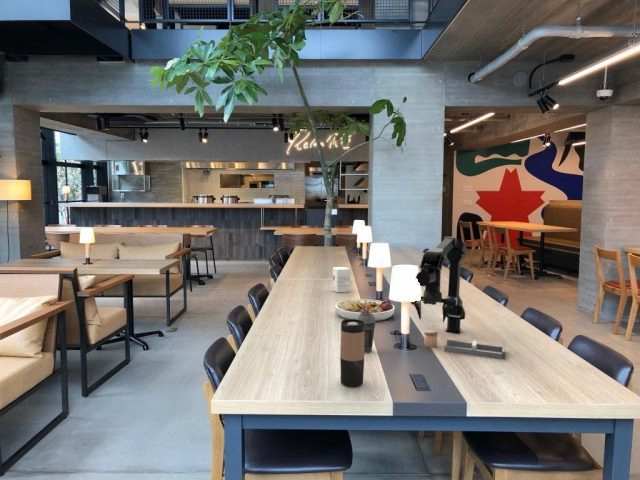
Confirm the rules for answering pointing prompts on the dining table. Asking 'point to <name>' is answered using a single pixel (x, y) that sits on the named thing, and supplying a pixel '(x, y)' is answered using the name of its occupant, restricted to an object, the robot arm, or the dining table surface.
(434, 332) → the jar
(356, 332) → the travel mug
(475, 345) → the pusher plate
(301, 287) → the dining table surface
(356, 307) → the bowl
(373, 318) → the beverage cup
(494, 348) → the lane
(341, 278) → the supplement box
